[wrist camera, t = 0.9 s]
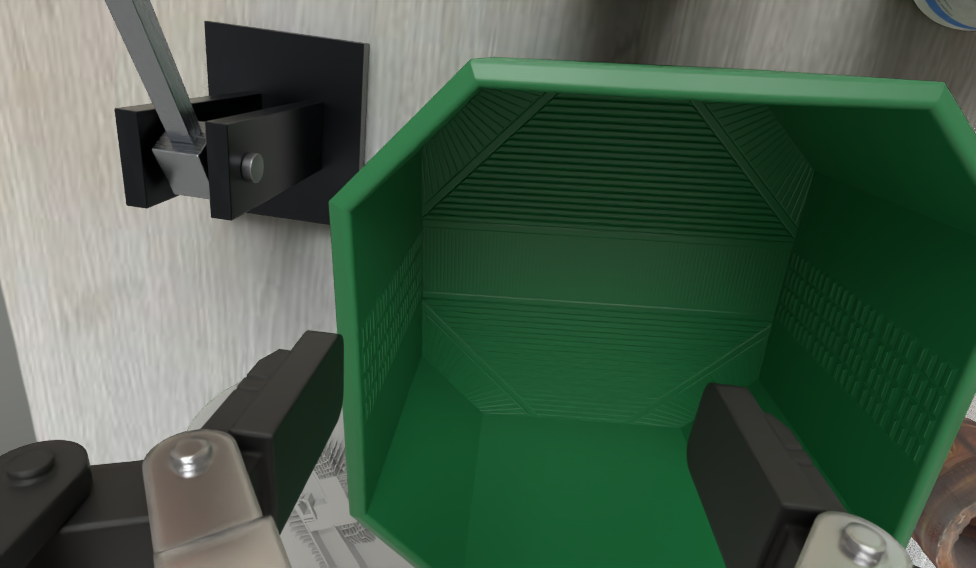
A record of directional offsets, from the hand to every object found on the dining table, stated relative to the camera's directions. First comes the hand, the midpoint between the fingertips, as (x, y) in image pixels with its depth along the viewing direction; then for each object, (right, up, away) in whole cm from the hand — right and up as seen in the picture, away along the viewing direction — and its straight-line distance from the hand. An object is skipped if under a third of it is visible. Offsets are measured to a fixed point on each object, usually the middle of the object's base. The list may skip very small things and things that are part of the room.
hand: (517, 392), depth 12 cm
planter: (+7, +4, +28) cm, 29 cm away
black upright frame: (-14, +13, +26) cm, 32 cm away
